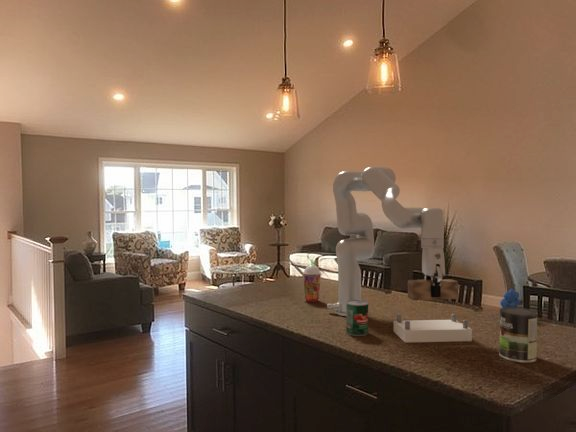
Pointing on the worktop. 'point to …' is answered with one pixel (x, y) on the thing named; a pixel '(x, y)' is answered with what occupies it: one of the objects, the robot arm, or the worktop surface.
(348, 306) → the canned tomato
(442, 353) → the worktop surface
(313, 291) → the smoothie
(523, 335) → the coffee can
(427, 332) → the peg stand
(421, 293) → the brown wooden block
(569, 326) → the worktop surface
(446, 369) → the worktop surface
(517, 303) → the grapes
